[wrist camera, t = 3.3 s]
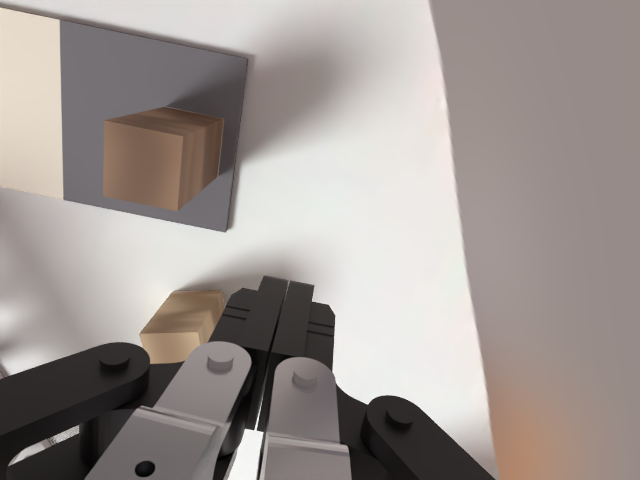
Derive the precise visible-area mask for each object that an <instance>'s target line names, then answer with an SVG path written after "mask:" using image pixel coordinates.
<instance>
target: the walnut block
mask: <svg viewBox="0 0 640 480" xmlns="http://www.w3.org/2000/svg"><path fill="white" fill-rule="evenodd" d="M223 127H224V119H223V118H219V117H214V116H209V115H204V114H199V113H194V112H189V111H185V110H180V109H175V108H170V107H161V108H157V109H152V110H148V111H143V112H139V113H134V114H130V115H125V116H121V117H117V118H112V119H108V120H104V165H103V196H104V197H109V198H114V199H119V200H124V201H129V202H134V203H139V204H144V205H149V206H154V207H159V208H164V209H169V210H173V211H178V210H179V209H180V208H182V207H183V206H184V205H185V204H186V203H188V202H189V201H190V200H191V199H192V198H193V197H195V196H196V195H197V194H198V193H199V192H200V191H202V190H203V189H204V188H205V187H206V186H208V185H209V184H210V183H211V182H212V181H213V180H215V179H216V178H217V177H218V173H219V163H220V154H221V145H222V136H223Z"/></svg>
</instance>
